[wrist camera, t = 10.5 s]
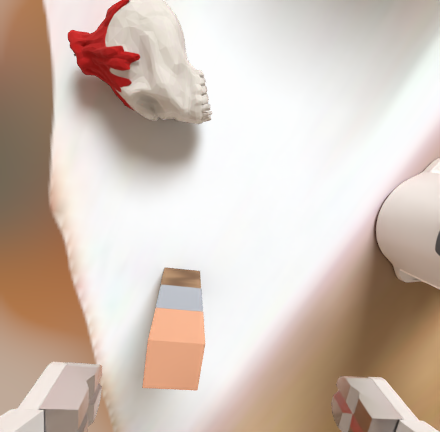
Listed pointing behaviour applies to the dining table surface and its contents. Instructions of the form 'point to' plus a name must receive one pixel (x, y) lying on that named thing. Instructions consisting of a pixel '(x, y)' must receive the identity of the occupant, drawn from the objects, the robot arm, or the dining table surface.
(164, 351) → the terracotta block
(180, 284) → the tower base
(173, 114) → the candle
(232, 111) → the dining table surface
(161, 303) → the block
